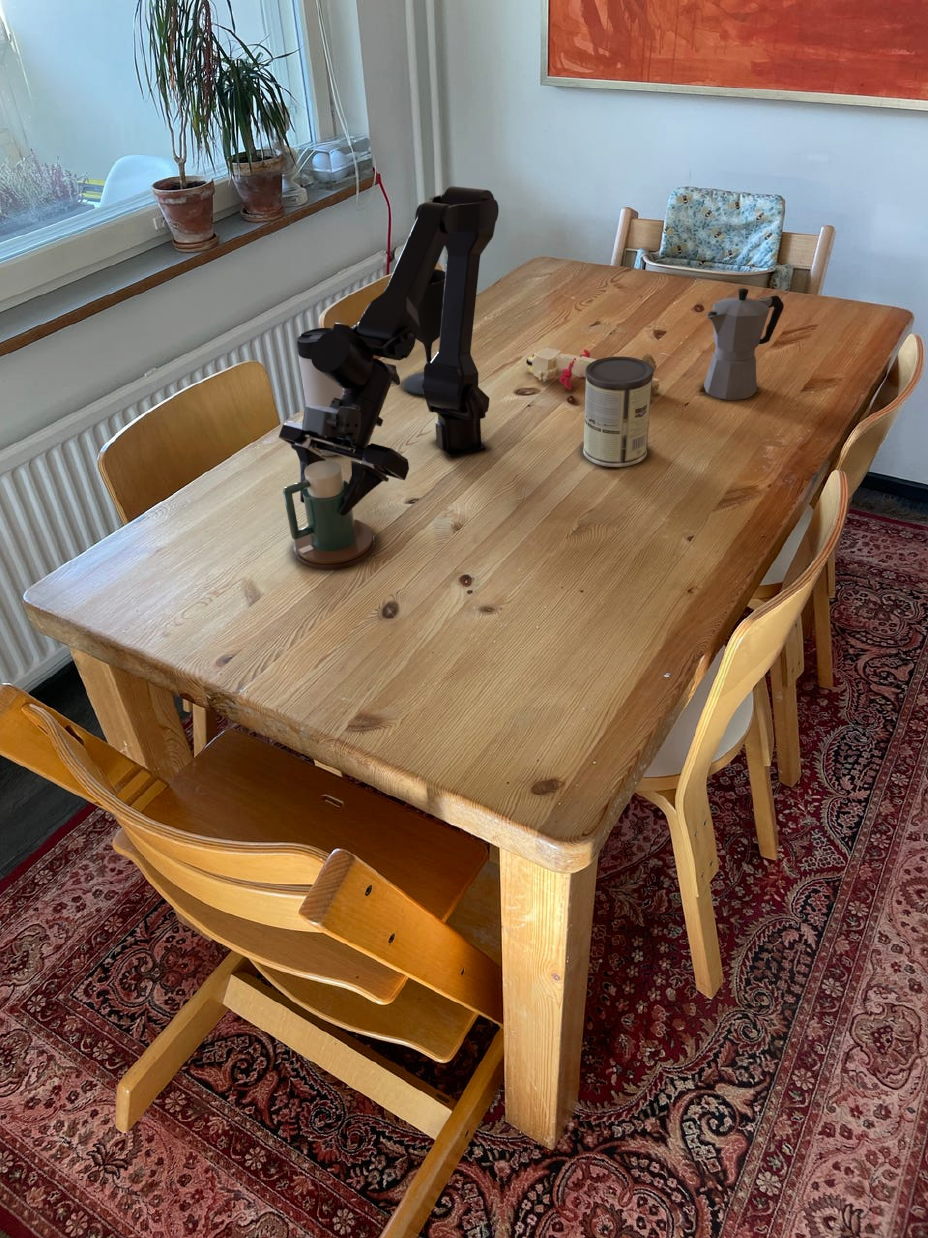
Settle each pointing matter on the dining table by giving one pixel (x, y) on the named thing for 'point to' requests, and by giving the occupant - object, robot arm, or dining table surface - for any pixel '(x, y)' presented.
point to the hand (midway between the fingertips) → (321, 508)
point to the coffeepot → (738, 343)
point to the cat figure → (569, 366)
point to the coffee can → (617, 411)
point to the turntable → (337, 565)
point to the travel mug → (315, 374)
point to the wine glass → (428, 325)
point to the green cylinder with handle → (326, 517)
